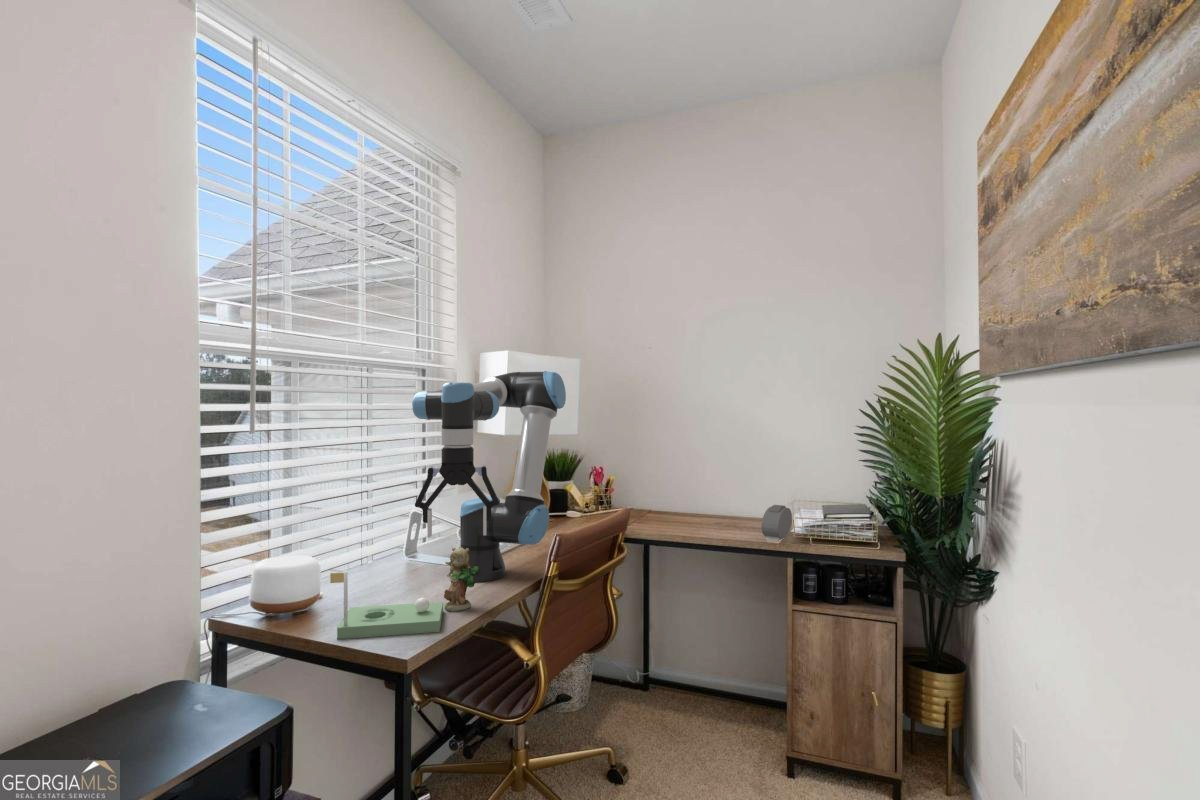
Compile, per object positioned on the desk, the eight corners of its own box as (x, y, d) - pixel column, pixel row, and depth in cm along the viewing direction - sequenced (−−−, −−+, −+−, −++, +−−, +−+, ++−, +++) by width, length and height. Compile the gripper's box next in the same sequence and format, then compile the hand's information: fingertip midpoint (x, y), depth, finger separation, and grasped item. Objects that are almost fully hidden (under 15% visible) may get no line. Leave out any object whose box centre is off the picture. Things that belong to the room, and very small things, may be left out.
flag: (347, 624, 134) (348, 571, 134) (347, 625, 134) (347, 572, 134) (330, 625, 134) (331, 572, 134) (330, 626, 133) (330, 573, 133)
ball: (429, 609, 144) (429, 595, 144) (428, 614, 141) (428, 599, 141) (415, 610, 143) (415, 596, 143) (413, 615, 140) (413, 600, 140)
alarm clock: (776, 532, 239) (776, 500, 239) (791, 533, 236) (792, 501, 236) (761, 544, 219) (761, 509, 219) (778, 546, 216) (778, 511, 216)
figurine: (437, 609, 151) (437, 550, 151) (457, 600, 158) (457, 543, 158) (464, 615, 147) (464, 554, 147) (484, 606, 153) (484, 548, 153)
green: (443, 611, 149) (443, 601, 149) (439, 631, 137) (439, 620, 137) (350, 617, 145) (350, 607, 145) (337, 639, 132) (337, 627, 132)
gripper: (508, 444, 150) (508, 529, 150) (406, 445, 145) (406, 533, 145) (509, 446, 142) (509, 536, 142) (402, 448, 138) (402, 540, 138)
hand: (457, 535), depth 144 cm, fingers open, 12 cm apart
